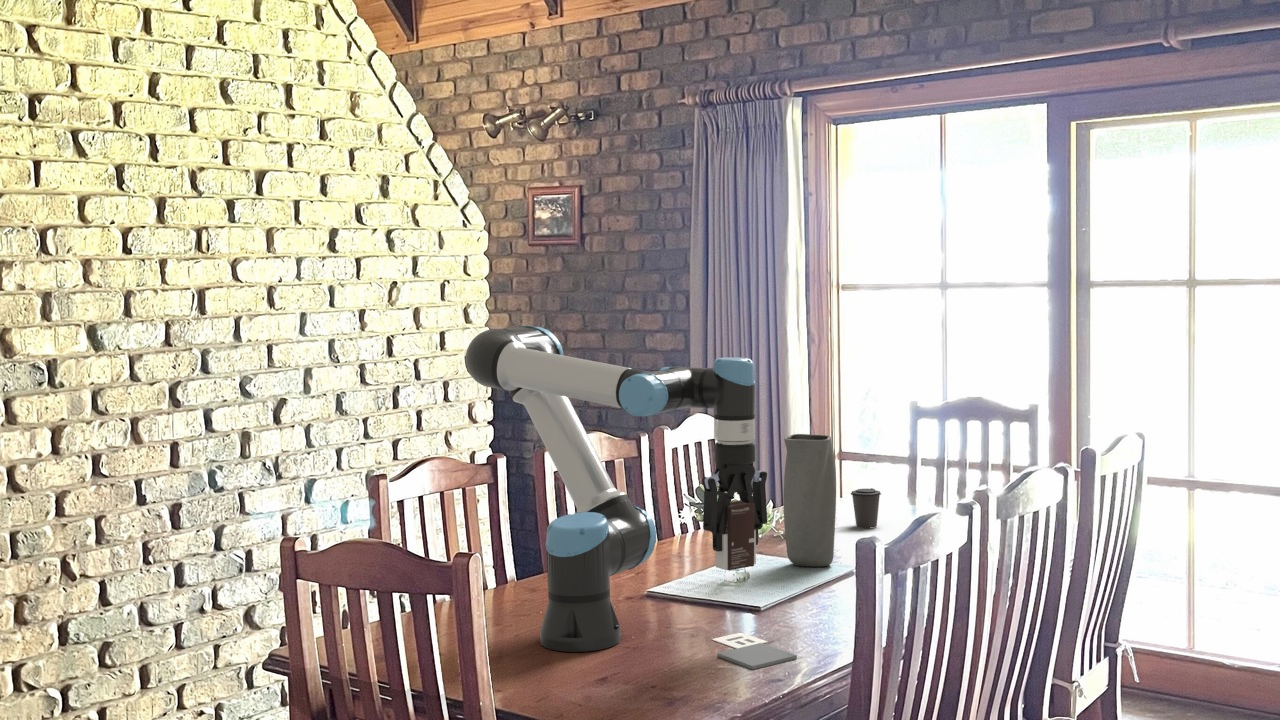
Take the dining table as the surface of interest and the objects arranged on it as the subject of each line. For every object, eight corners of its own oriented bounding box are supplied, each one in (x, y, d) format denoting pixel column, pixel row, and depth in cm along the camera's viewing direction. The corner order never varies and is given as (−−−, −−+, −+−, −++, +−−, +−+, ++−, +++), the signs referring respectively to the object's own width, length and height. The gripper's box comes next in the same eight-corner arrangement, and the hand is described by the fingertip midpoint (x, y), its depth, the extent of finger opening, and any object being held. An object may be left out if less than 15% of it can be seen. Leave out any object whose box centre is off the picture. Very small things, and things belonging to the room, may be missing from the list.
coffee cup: (886, 524, 345) (885, 487, 344) (875, 530, 338) (874, 492, 337) (858, 522, 349) (857, 486, 348) (846, 528, 342) (845, 490, 341)
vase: (795, 557, 309) (792, 432, 307) (844, 560, 303) (841, 434, 301) (776, 567, 298) (773, 439, 296) (826, 572, 292) (824, 440, 290)
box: (730, 571, 235) (729, 506, 234) (716, 567, 239) (714, 503, 238) (756, 566, 239) (755, 502, 238) (741, 562, 242) (740, 499, 241)
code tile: (738, 649, 234) (738, 648, 234) (711, 639, 241) (711, 638, 241) (767, 642, 238) (767, 641, 238) (740, 633, 245) (740, 632, 245)
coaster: (752, 669, 222) (752, 666, 222) (717, 656, 230) (717, 653, 230) (796, 658, 228) (796, 655, 228) (760, 646, 236) (760, 642, 236)
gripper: (705, 448, 229) (707, 576, 230) (787, 439, 239) (788, 562, 241) (681, 444, 235) (682, 569, 237) (761, 435, 245) (762, 554, 247)
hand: (735, 565), depth 239 cm, fingers closed on box, 6 cm apart
